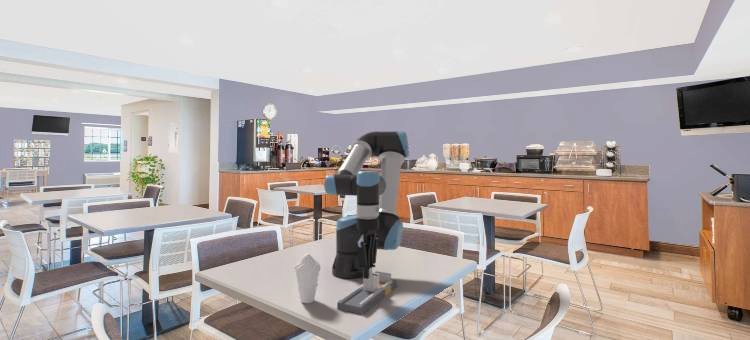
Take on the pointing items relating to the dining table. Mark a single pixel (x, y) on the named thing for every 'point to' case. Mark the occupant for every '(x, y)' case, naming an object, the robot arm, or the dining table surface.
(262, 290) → the dining table surface
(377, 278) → the fader tab
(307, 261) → the soft serve ice cream cone
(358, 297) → the slider track
